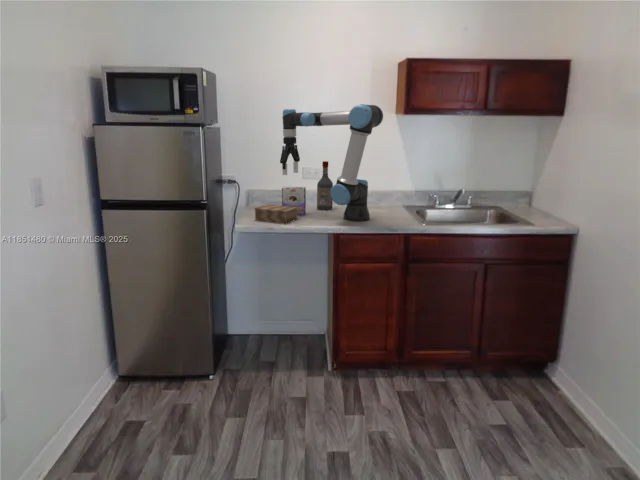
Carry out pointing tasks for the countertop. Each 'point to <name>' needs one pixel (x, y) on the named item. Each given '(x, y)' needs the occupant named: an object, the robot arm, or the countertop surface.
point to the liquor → (324, 190)
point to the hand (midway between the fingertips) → (290, 173)
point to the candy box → (295, 198)
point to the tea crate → (275, 213)
